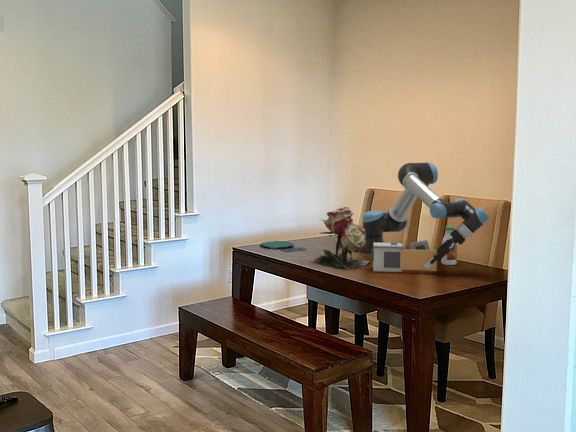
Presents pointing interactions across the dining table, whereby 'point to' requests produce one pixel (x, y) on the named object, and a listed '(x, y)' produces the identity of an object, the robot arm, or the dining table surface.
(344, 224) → the rose bouquet
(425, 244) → the digital clock
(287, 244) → the cutlery set
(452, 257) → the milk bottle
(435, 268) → the tan long-handled part
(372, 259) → the box
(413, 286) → the dining table surface
